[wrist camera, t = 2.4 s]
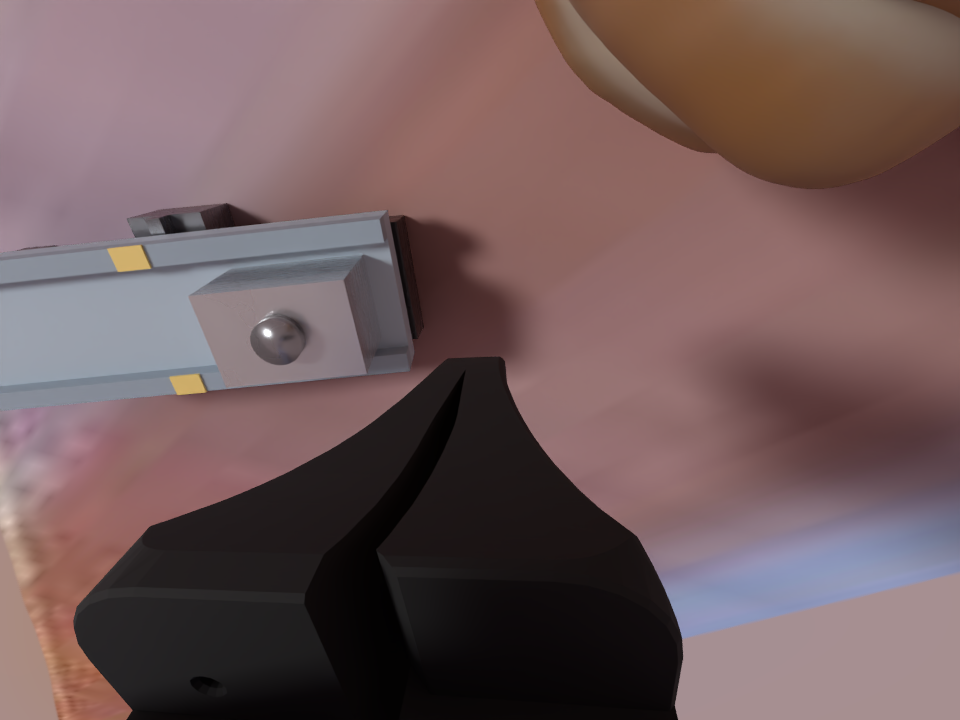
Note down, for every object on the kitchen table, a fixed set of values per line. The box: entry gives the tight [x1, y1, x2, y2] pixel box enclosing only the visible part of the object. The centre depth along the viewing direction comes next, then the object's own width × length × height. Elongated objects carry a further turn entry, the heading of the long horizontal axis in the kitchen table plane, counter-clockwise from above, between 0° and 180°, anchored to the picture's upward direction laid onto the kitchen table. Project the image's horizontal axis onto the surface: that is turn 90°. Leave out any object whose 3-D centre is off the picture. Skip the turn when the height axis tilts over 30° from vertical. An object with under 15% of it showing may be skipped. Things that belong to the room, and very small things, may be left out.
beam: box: [0, 210, 415, 411], centre depth 18 cm, size 6×18×2 cm, turn 96°
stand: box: [17, 203, 424, 339], centre depth 20 cm, size 7×18×2 cm, turn 96°
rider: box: [188, 254, 382, 388], centre depth 17 cm, size 3×5×4 cm
